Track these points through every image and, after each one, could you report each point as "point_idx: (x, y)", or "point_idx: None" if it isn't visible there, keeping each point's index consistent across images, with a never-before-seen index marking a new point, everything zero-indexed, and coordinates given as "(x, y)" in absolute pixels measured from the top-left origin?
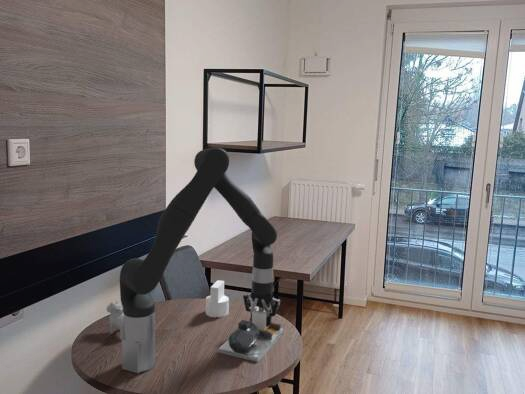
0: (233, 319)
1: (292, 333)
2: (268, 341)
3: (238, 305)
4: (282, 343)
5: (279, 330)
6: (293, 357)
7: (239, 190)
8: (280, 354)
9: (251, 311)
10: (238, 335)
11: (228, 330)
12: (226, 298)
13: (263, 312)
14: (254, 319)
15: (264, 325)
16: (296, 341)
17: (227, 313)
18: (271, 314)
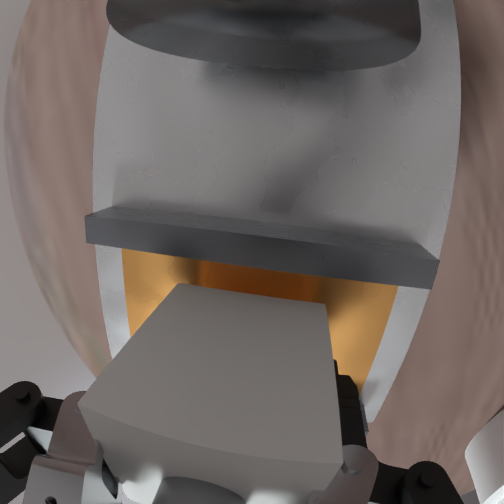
0: (452, 420)
1: (91, 361)
2: (116, 147)
3: None
4: (74, 223)
5: None
6: (8, 95)
7: None
8: (52, 80)
9: (359, 474)
10: None
11: (487, 293)
12: (492, 499)
13: (144, 462)
14: (292, 367)
15: (157, 309)
16: (38, 275)
17: (474, 444)
18: (53, 416)
